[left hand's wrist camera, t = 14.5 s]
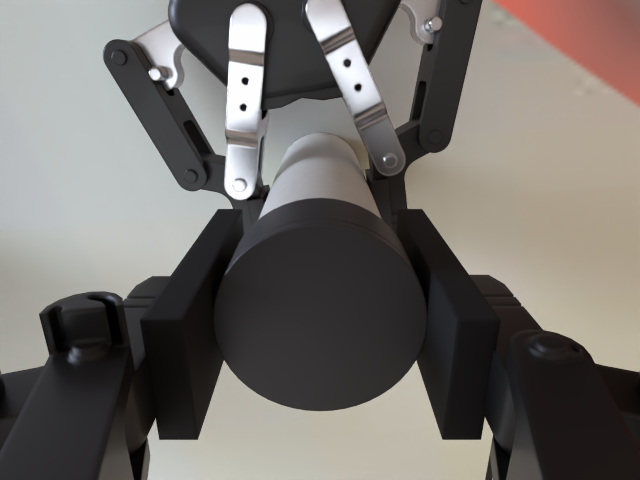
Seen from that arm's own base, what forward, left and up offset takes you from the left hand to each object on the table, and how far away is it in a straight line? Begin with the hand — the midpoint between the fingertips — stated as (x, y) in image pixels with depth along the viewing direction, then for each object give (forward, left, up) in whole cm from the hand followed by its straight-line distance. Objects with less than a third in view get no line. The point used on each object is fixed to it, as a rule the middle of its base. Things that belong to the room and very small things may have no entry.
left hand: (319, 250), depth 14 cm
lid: (0, 0, +4) cm, 4 cm away
